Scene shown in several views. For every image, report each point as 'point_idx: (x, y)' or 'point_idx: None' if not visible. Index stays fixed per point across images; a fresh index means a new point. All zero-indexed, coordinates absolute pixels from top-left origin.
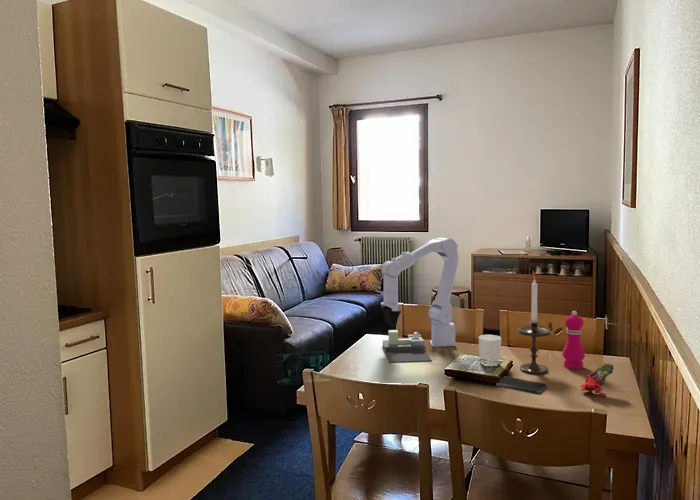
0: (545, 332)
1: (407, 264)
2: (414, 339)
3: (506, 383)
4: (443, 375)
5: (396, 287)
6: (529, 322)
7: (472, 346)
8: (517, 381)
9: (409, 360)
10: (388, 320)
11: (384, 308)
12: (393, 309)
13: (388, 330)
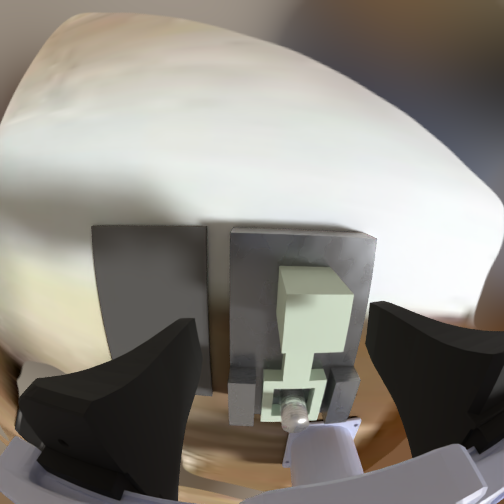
0: None
1: None
2: (284, 396)
3: (24, 421)
4: (27, 356)
5: None
6: None
7: (270, 484)
8: (38, 437)
9: (107, 313)
10: (378, 335)
11: (468, 379)
12: (11, 456)
13: (348, 294)
